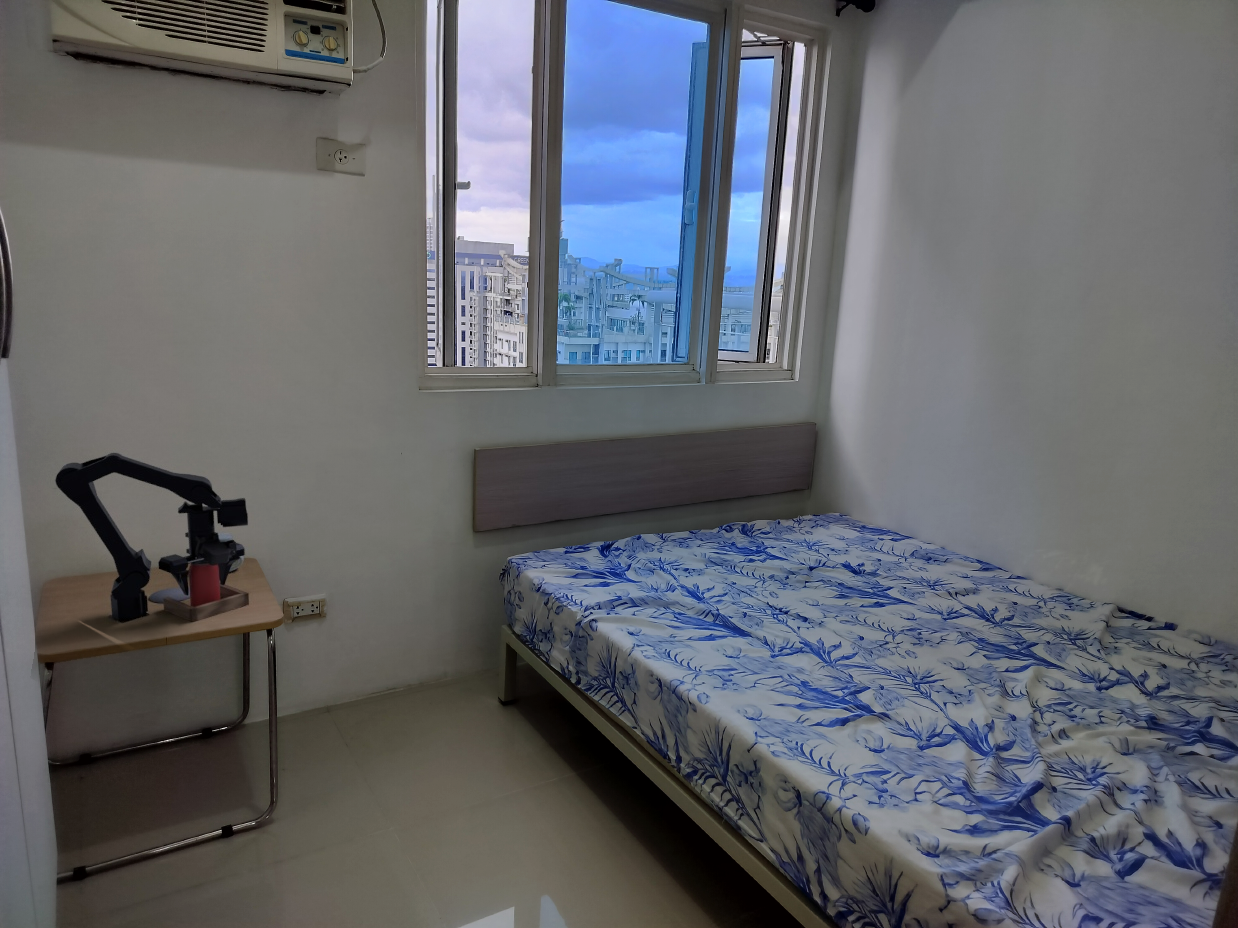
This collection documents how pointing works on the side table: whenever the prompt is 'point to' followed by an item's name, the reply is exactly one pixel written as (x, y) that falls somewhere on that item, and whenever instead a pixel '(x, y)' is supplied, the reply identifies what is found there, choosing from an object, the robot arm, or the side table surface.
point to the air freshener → (228, 537)
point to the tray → (208, 604)
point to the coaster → (169, 595)
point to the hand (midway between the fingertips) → (204, 589)
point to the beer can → (203, 583)
